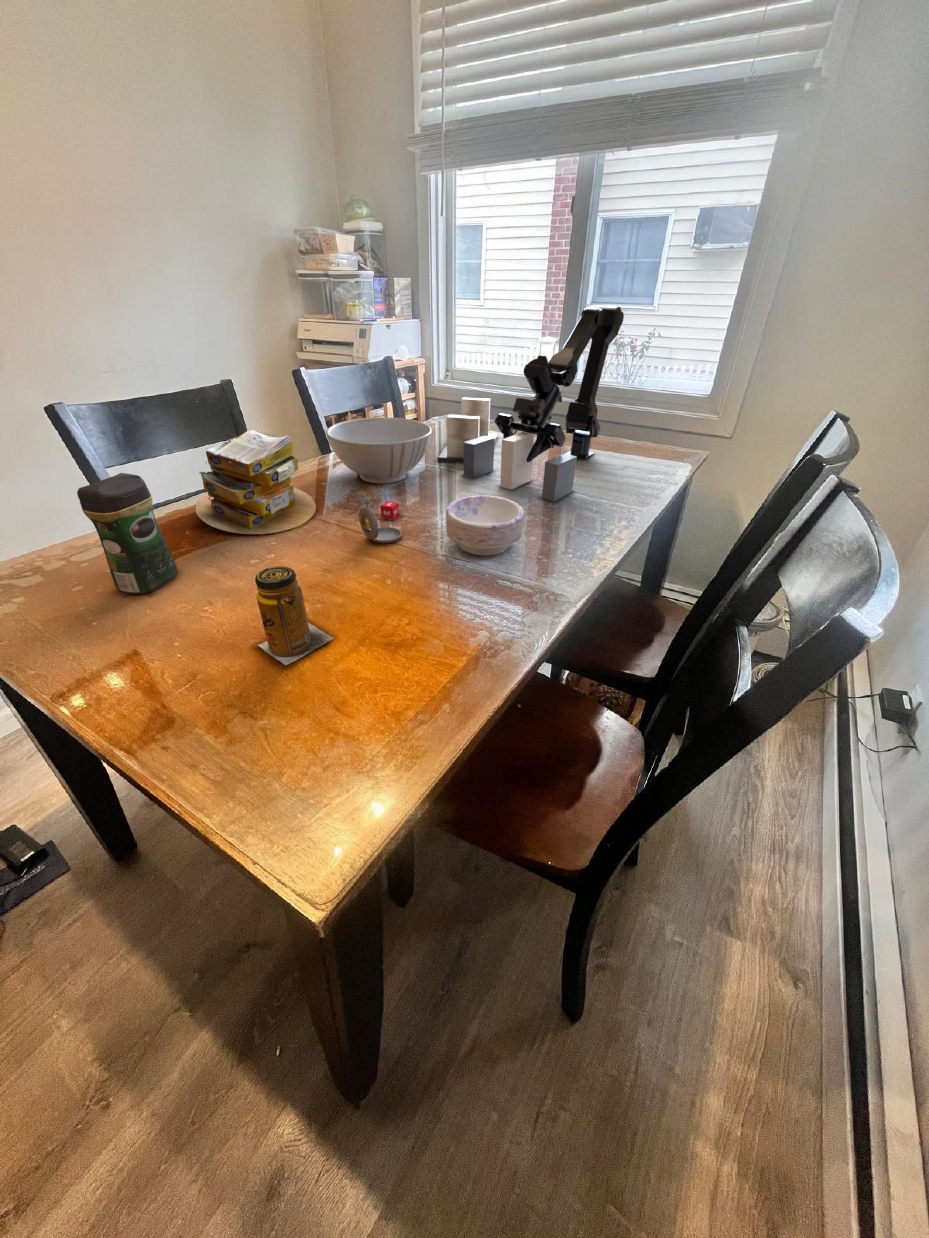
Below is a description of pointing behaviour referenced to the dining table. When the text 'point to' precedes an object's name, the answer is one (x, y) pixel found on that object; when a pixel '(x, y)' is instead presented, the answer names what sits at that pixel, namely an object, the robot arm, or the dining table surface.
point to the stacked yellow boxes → (253, 486)
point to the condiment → (285, 616)
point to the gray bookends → (555, 473)
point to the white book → (516, 460)
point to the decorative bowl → (380, 446)
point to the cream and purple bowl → (484, 524)
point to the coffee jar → (128, 533)
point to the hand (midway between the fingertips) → (514, 458)
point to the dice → (389, 510)
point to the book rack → (466, 428)
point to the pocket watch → (376, 526)
